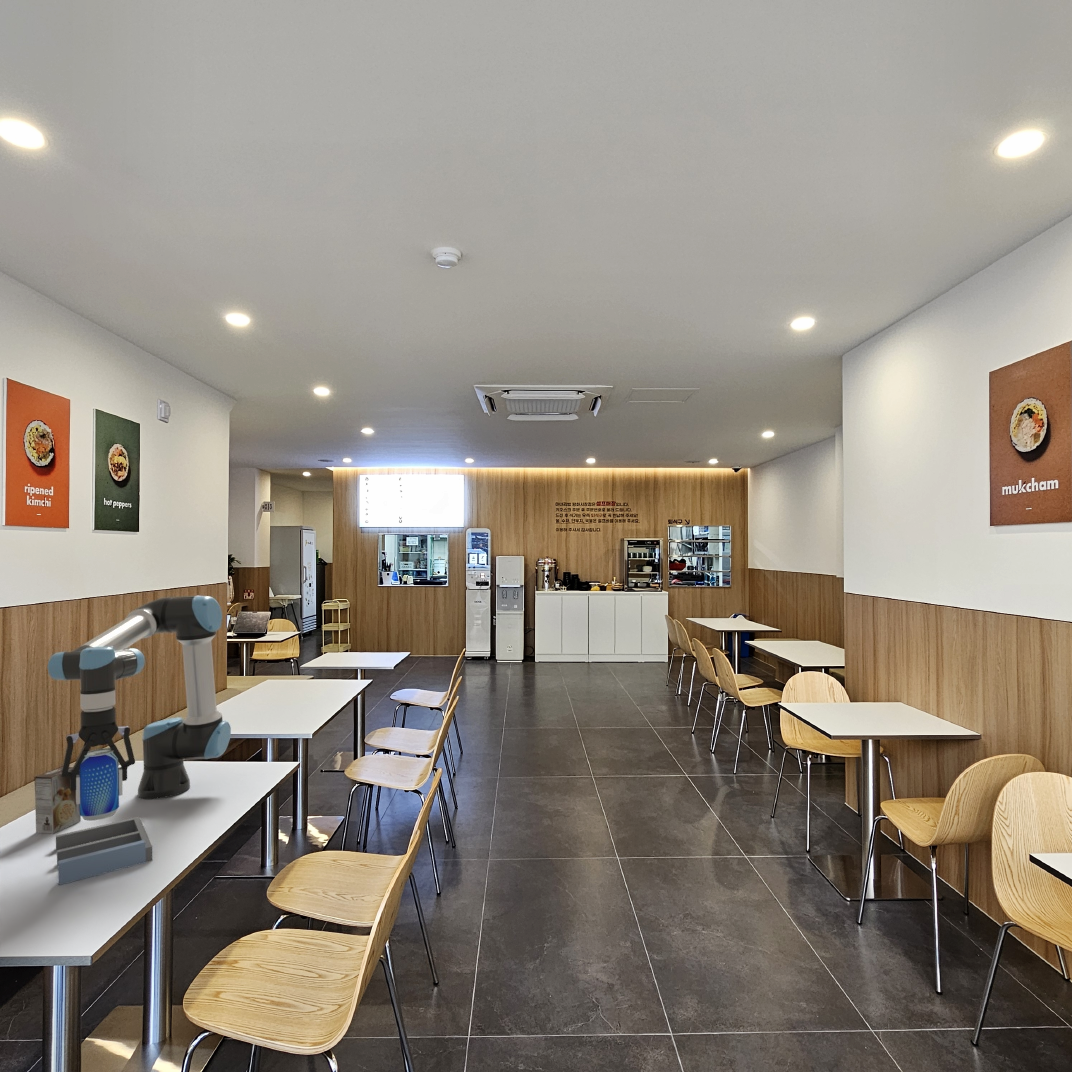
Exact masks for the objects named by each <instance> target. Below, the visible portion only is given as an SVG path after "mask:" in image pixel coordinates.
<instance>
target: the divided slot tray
mask: <svg viewBox="0 0 1072 1072" xmlns="http://www.w3.org/2000/svg"><path fill="white" fill-rule="evenodd" d="M55 851H56V867H57V869H58V870H57V871H58V872H57V875H58V876H57V877H58V885H59V886H61V885H64V884H69V883H72V882H76V881H80V880H83V879H87V878H91V877H95V876H98V875H99V876H100V875H103V874H105V873H109V872H114V871H119V870H122V869H125V868H128V867H133V866H137V865H140V864H144V863H148V862H151V861H153V845H152V843H151V841H150V838H149V836H148V833H147V831H146V828H145V826H144V824H143V822H142V818H141V817H140V816H136V817H131V818H127V819H123V820H118V821H113V822H111V823H106V824H101V825H96V826H91V827H87V828H84V829H79V830H75V831H70V832H66V833H61V834H57V835H55Z"/></svg>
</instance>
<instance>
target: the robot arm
mask: <svg viewBox="0 0 1072 1072" xmlns="http://www.w3.org/2000/svg"><path fill="white" fill-rule="evenodd" d="M222 621H223V613H222V608H221V606H220V604H219V602H218V601H217V600H216V599H215V598H214V597H212V596H209V595H208V596H207V595H190V596H189V595H187V596H166V597H165V596H164V597H161V598H157V599H155V600H152V601H149V602H147V603H145V604H143V605H140V606H139V607H137V608H135V609H133V610H132V611H130V612H129V613H128V614H127V616H126V617H125V619H123V620H122V621H120V622H118V623H117V624H115V625H113V626H112V627H110V628H108V629H107V630H105V631H104V632H102V633H100V634H98V635H97V636H95V637H93V638H92V639H90V640H88V641H87V642H85V643H83V644H81V646H78V647H77V648H75V649H74V650H71V651H66V650H65V651H61V652H55V653H54V654H53V655H51V657H50V658H49V660H48V663H47V670H48V671H47V672H48V675H49V677H50V678H51V679H52V680H56V681H66V682H68V681H78V680H79V681H80V689H79V690H80V694H79V696H80V697H79V698H80V700H79V703H80V704H79V705H80V708H79V709H80V710H81V711H80V729H79V730H78V732H77V733H73V734H67V735H66V736H65V740H66V744H67V745H66V748H65V754H64V759H63V764H62V766H61V767H62V772H61V774H62V777H69V778H70V788H71V791H74V790H76V804H80V777H79V775H77V773H78V771H79V769H80V765H81V763H82V761H83V760H84V758H85V755H87V753H88V751H90V750H91V748H95V747H97V746H106V745H107V746H108V748H110V749H111V750H112V751H113V753H114V754H115V756H116V757H117V758H118V764H119V765H120V766H118V773H119V797H120V796H123V782H126V781H127V780H128V769H129V767H130V766H132V765H133V766H134V765H135V764H136V760H135V755H134V750H133V747H132V743H131V739H130V733H131V728H130V727H129V725H125V726H119V725H117V717H116V715H117V714H116V711H117V710H116V709H117V708H116V707H115V705H116V704H117V703H116V681H118V680H121V679H126V678H130V677H133V676H135V675H137V674H139V673H140V672H142V670H143V669H144V667H145V663H146V659H145V655H144V654H143V652H142V651H141V650H139V649H137V648H133V647H131V646H133V644H136V643H137V642H138V641H140V640H142V639H147V638H150V637H152V636H153V635H156V634H165V633H166V634H167V633H169V634H170V633H171V634H173V633H174V634H175V638H176V641H177V642H179V643H180V644H181V645H182V659H183V671H184V672H183V673H184V682H185V694H186V696H185V697H186V706H187V707H186V708H187V710H186V711H187V716H186V717H185V718H184V719H183V718H182V717H180V716H179V717H171V718H167V719H162V720H158V721H154V722H152V723H150V724H147V725H146V726H145V727H144V728H143V730H142V731H143V732H142V739H141V740H142V751H143V752H142V754H143V755H142V757H143V759H142V760H143V772H142V775H141V778H140V781H139V784H138V788H137V797H138V798H140V799H143V800H156V799H163V798H170V797H173V796H177V795H179V794H182V793H184V792H186V791H188V790H189V789H190V787H191V781H190V778H189V774H188V772H187V770H186V766H185V764H184V760H197V759H200V760H202V759H204V760H208V759H215V758H220V757H221V756H222V755H224V753H225V751H226V750H227V748H228V746H229V744H230V743H229V742H230V740H231V736H232V732H231V731H232V727H231V724H230V723H229V721H226V720H223V713H221V712H220V711H219V710H218V709H217V698H216V697H217V696H216V686H215V685H216V683H215V670H214V657H213V647H212V646H213V645H212V640H213V639H214V638H215V637H216V635H217V634H216V633H217V631H218V630H219V629H221V627H222ZM130 647H131V648H130ZM117 733H119V735H120V736H122V739H123V743H124V748H125V752H126V754H127V755H126V756H127V760H125V758H124V757H123V755H122V753H121V751H120V750H119V749H118V747H117V746H116V744H115V742H114V740H113V738H114V737H115V736H116V734H117ZM79 738H80V739H81V740H82V741H83V743H84V744H83V745H82V748H81V751H80V753H79V755H78V757H77V759H76V761H75V763H74V765H73V766H72V767H73V769H72V771H68V770H69V767H70V765H71V760H72V756H73V751H74V744H76V743H77V742H78V741H77V740H78V739H79Z"/></svg>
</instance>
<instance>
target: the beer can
mask: <svg viewBox="0 0 1072 1072" xmlns="http://www.w3.org/2000/svg"><path fill="white" fill-rule="evenodd" d="M118 768H119V762H118V758H117V757H116V756H115V754H114V753H113V751H112V750H111V749H110V747H107V748H106V747H105V748H104V747H103V748H98V749H97V748H96V749H92V750H89V751H88V753H87V755H85V758H84V760H83V761H82V763H81V765H80V769H79V777H80V815H81V817H82V819H83V820H84V821H99V820H104V819H106V818H110V817H111V816H114V815H115V814H116V813H117V810H118V809H119V807H120V796H119V773H118Z"/></svg>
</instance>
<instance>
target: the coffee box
mask: <svg viewBox="0 0 1072 1072" xmlns="http://www.w3.org/2000/svg"><path fill="white" fill-rule="evenodd" d="M62 767H63V766H61V767H58V768H55V769H52V770H49V771H46V772H44V773H41V774H38V775H35V776H34V777H33V778H34V800H35V801H34V807H35V809H34V810H35V833H37V834H38V833H39V834H56V833H58V832H60V831H62V830H65V829H66V828H68V827H70V826H72V825H74V824H75V825H76V824H77V823H79V822H81V821H82V819H81V817H82V816H81V815H80V804H76V790H74V791H71V788H70V778H69V777H62V774H61V772H62ZM73 767H74V766H69V770H68V771H72V769H73ZM77 775H79V771H78V773H77Z"/></svg>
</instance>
